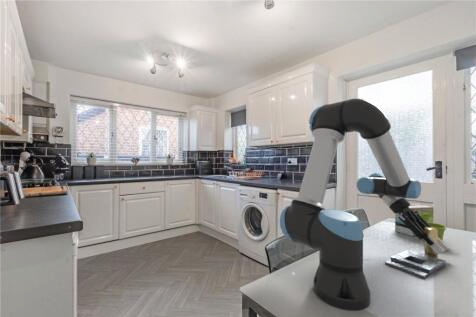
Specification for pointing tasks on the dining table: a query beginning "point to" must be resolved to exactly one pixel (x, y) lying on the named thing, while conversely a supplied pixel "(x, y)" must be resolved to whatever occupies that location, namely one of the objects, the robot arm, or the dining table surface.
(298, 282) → the dining table surface
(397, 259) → the grey slotted plate
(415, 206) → the tea box
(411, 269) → the grey square-hole plate
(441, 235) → the plant pot
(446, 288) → the dining table surface
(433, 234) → the brass pin
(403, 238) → the dining table surface
